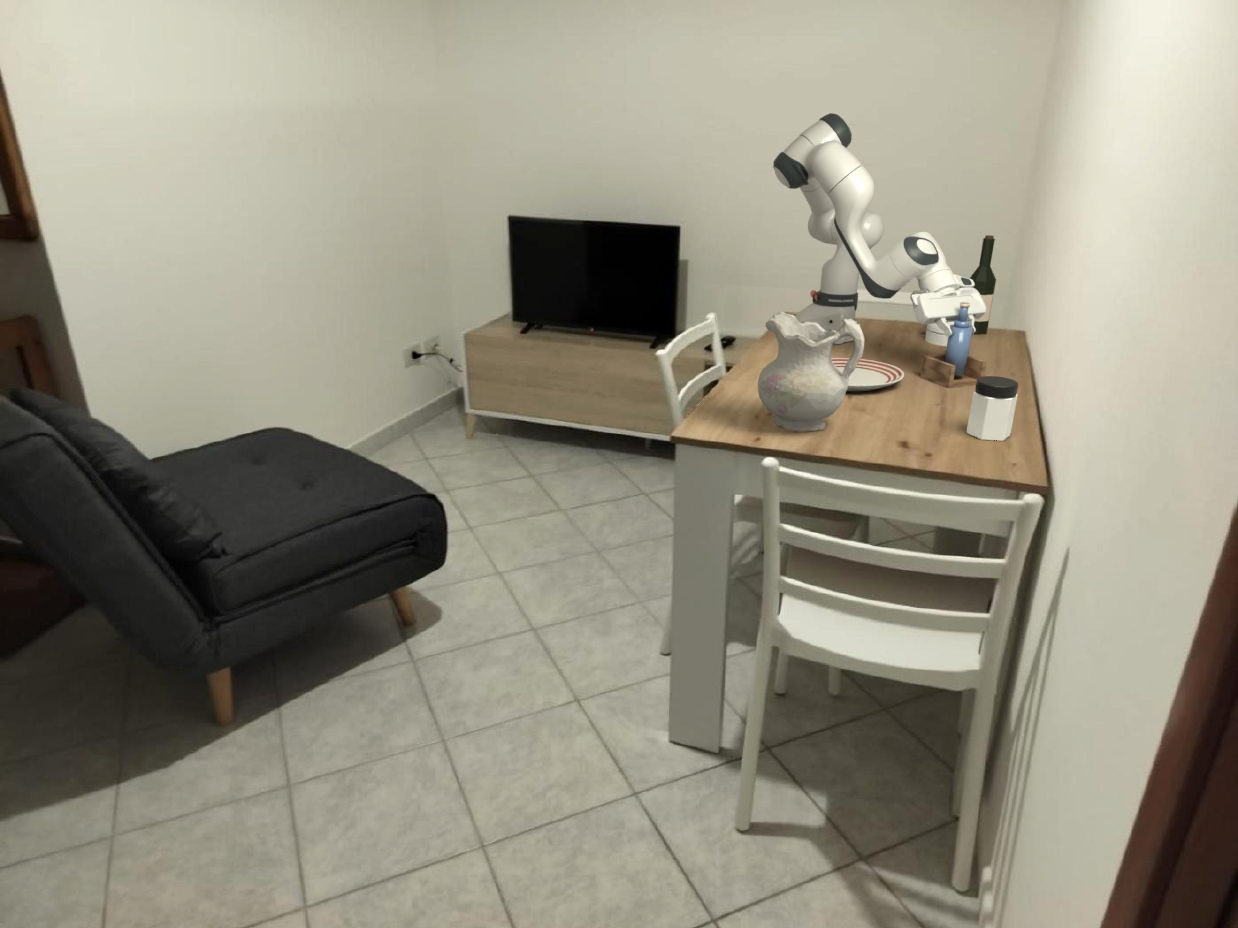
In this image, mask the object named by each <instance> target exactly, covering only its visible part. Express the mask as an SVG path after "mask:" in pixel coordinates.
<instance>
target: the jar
mask: <svg viewBox="0 0 1238 928" xmlns="http://www.w3.org/2000/svg"><path fill="white" fill-rule="evenodd" d="M1018 390H1019V383H1018V382H1017V380H1015V379H1011V378H1009V377H1004V376H1003V377H1002V376H997V375H996V376H993V375H984V377H980V378H978V379H977V383H976V384H975V390H974V391H973V392H972V396H971V397H972V398H971V403H970V409H969V416H968V421H967V426H966V433H967V435H971V436H972V437H974V436H975V438H976V437H977V439H979V440H981V441H994V440H995V441H996V440H997V441H996V442H1004V441H1005V440H1006V439H1008V438H1009V437H1010V436H1011V432H1012V428H1013V423H1014V422H1013V421H1014V417H1015V412H1016V407H1017V401H1018V396H1019V395H1018ZM995 441H994V442H995Z"/></svg>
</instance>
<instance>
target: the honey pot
mask: <svg viewBox="0 0 1238 928" xmlns="http://www.w3.org/2000/svg"><path fill="white" fill-rule="evenodd" d="M946 323H947V324H948V325H949V327H950V325H954V322H946ZM926 325H927V326H926V332H925V337H924V338H925V339H924V341H925V342H926V343H929V344H932V345H935V346H942V347H947V342H948V337H947V336H946V335H945V332H944V331H942V330H941V329H940V328H939V327H938V326H937V324H936V323H935V324H926Z"/></svg>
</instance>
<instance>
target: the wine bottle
mask: <svg viewBox="0 0 1238 928" xmlns="http://www.w3.org/2000/svg"><path fill="white" fill-rule="evenodd" d="M995 240H996V239H995V238H994V235H991V234H990V235H989V234H988V235H985V237H984V238H983V239H982V245H981V253H980V258H979V265H978V267H977V268H976V270H975V271H974V272H973V273H972V274H971V276H970V277H969V279H972V280H973V281H974V283H975V285H974V286H973V288H975V289H976V290H977V291H978V292H979V293H980V295H981V297H982V299H983V301H984V303H985V305H986V308H987V309H986V313H985V314H984V315H983V316H982V317H980V318H979V319H974V327H975V329H976V331H975V332H974V333H973V334H972V335H977V336H979V335H987V333H988V329H989V324H990V319H991V313H992V306H993V305H992V304H993V300H994V293H995V287H996V283H997V279H996V276H995V273H994V271H993V270H992V267H991V266H992V265H991V263H992V258H993V251H994V246H995Z"/></svg>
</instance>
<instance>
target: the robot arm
mask: <svg viewBox="0 0 1238 928" xmlns="http://www.w3.org/2000/svg"><path fill="white" fill-rule="evenodd" d="M852 137H853V135H852V132H851V129H850V126H849V124H848V122H847V121H846V120H845V119H844V118H842V117H841V116H840V115H839V114H836V113H831V112H830V113H828V114H826V115H824V116H822V117H820V118H819V119H818V121H816V122H815V123H814V124H812V125H810V126H809V127H807V128H806V129H805V130H804V131H802V132H801V133H799V135H798V136H797V137H795V139H794V140H792V142H790V144H788V146H787V147H786V148H785V149H784V150H783V151H781V152H780V153H779V154H778V155H776V157H775V159H774V160H773V163H772V164H773V166H772V168H773V170H774V174H775V176H776V178H777V179H778V181H779V182H780V184H782V185H784V186H785V187H786V188H787V189H791V190H792V189H794V190H796V189H799V190H800V191H801V193H802V194H803V196H804V197H805V200H806V201H807V204H808V205H809V208H810V210H811V211H810V212H811V214H810V215H809V218H808V222H807V231H808V233H809V235H810V237H812V238H813V239H815V240H817V241H819V242H820V243H824V244H829V245H835V246H836V249H835V251H834V255H833V256H832V258H830V259H829V260H827V261H826V262H825V263H824V264H823V266H822V268H821V276H820V286H819V287H820V288H819V290H818V291H817V290H814V289H813V290H811V291H810V293H809V294H810V297H811V298H812V303H810V304H809V305H807V306H806V307H805V308H803V309H801V310H800V311H798V312H796V314H795V315H794V316H795V317H796V319H797V320H798V322H800V323H802V322H816V323H818V324H819V325H820V326H821V327H822V328H823V329H825V331H832V330H834V331H836V332H837V331H838V330H839V329H840V327H841V326H842V324H843V321H842V320H844V319H852V318H853V319H855V320H856V311H857V308H858V303H859V293H858V285H859V278H860V277H861V280H862V283H863V285H864V287H865V290H866V291H867V292H868V294H869V295H871V297H874V298H877V299H882V300H883V299H888V300H889V299H892V298H893V297H894V296H895V295H896V294H897V293H898V292H899V291H900V290H901V289H902V288H903V287H904V286H906V285H907V284H909V283H910V282H911V281H913V280H914V279H915V278H916V279H917V282H918V283H917V284H918V288H919V290H913V291H912V293H910V297H909V298H910V300H911V303H912V308H913V311H914V315H915V318H916V320H917V322H918V323H919V324H921V325H923V326H924V325H927V324H935V323H936V324H937V326H938V327H939V328H940V329H941V330H942V331H944V332H945V335H946V336H947V337H949V336H953V335H954V334H955V331H954V329H953V327H949V325H948V324H947V323H946V322H954V321H955V320H957V319H958V317H959V311H960V306H959V305H960V303H961V302H966V303H970V307H969V308H968V314H967V320H968V321H970V323H969V326H971V327H973V329H972V335H974V334H973V333H974V332H975V331H976V329H975V327H974V319H979V318H980V317H982V316H983V315H984V314H985V313H986V309H987V308H986V305H985V303H984V301H983V299H982V297H981V295H980V293H979V292H978V291H977V290H976V289H975V288H973V286H974V285H975V283H974V281H973V280H972V279H969V278H970V277H969V278H968V277H965V276H961V275H958V274H955V273H954V272H953V270H952V268H950V266H949V265H948V263H947V257H946V255H945V253H944V252H943V250H942V248H941V246H940V245H939V243H938V242H937V240H936V238H934V236H933V235H932V234H931V233H930V232H927V231H918V232H915V233H912V234H911V235H909V236H906V237H905V238H903V239H902V240H900V241H899V242H898V243H896V244H894V246H893V247H892V248H890V250H888V251H887V252H885V254H883V255H882V256H881V257H879V258H878V259H876V258H875V256H874V255H873V253H872V250H871V249H872V248H873V247H874V246H876V245H878V243H879V242H880V241H881V239H882V237H883V235H884V230H885V225H884V221H883V218H882V217H881V215H879V214H877V213H875V212H872V211H870V210H869V208H870V206H871V204H872V201H873V199H874V194H875V183H874V179H873V177H872V175H871V174H870V173H869V171H868V170H867V169H866V167H865V166H864V165H863V164H862V163H861V162H860V160H859V159H858V158H857V157H856V156H855V155H854V154H853V153H852V152H851V151H850V150H849V149H848V147H849V146H850V144H851V143H852ZM852 341H853V342H854V339H853V338H852V337H850V336H847V337H843V338H841V339H840V340H839V341H837V342H835V343H834V344H836V345H840V344H841V345H842V344H844V343H847V342H848V343H849V342H852ZM834 344H833V345H834Z"/></svg>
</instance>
